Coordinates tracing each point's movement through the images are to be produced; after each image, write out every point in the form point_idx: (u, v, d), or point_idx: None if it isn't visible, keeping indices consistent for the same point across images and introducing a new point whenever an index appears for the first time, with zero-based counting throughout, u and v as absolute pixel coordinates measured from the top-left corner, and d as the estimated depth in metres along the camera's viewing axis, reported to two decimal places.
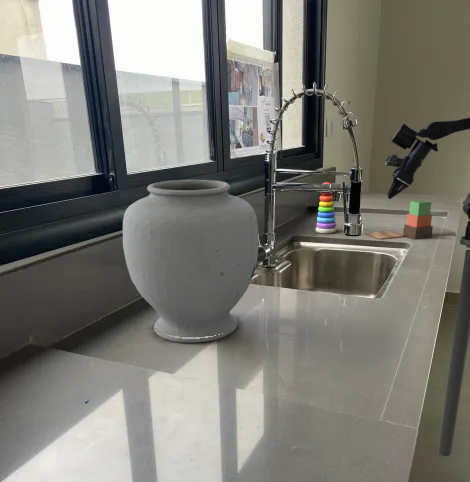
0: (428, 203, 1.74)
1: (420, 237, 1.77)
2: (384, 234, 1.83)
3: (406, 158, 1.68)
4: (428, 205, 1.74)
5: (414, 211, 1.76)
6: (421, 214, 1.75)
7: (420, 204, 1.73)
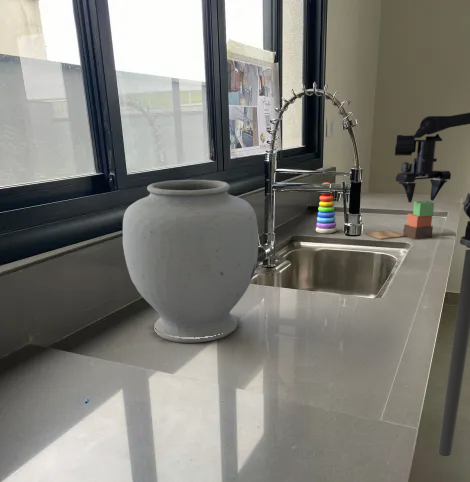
0: (431, 204, 1.73)
1: (420, 237, 1.77)
2: (384, 234, 1.83)
3: (414, 161, 1.73)
4: (431, 206, 1.73)
5: (416, 211, 1.76)
6: (423, 214, 1.74)
7: (421, 204, 1.73)
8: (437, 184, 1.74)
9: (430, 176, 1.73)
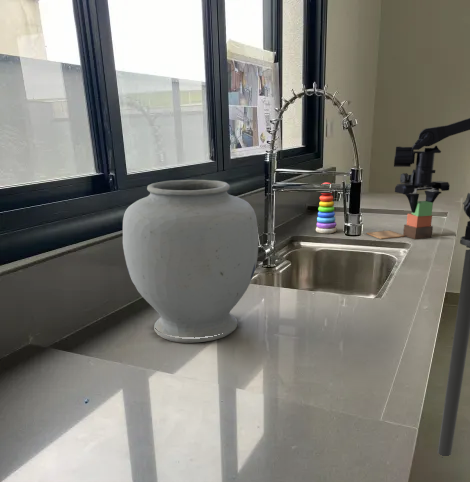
0: (429, 204, 1.73)
1: (420, 237, 1.77)
2: (384, 234, 1.83)
3: (413, 172, 1.74)
4: (429, 206, 1.73)
5: (415, 211, 1.75)
6: (422, 215, 1.74)
7: (420, 204, 1.72)
8: (431, 195, 1.75)
9: None
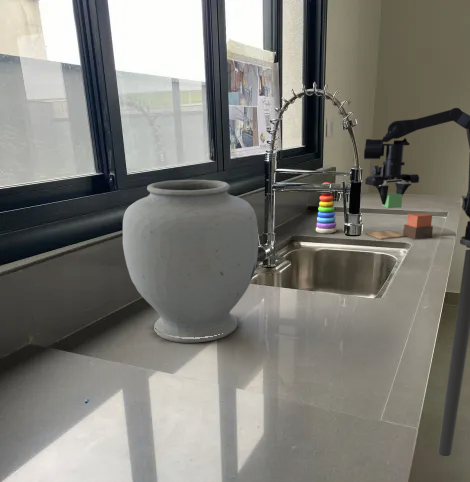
0: (399, 196, 1.75)
1: (420, 237, 1.77)
2: (384, 234, 1.83)
3: (383, 164, 1.76)
4: (399, 198, 1.75)
5: (385, 203, 1.77)
6: (391, 206, 1.76)
7: (390, 196, 1.75)
8: (401, 187, 1.77)
9: (394, 180, 1.76)
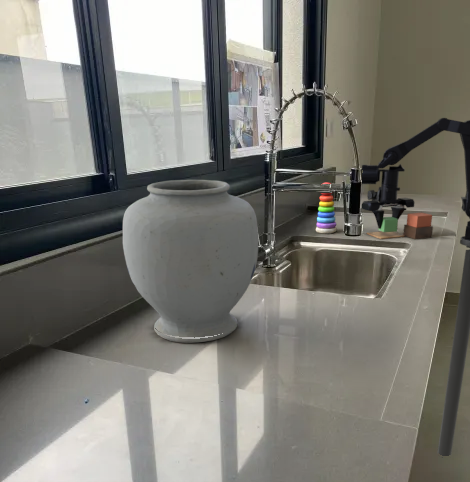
0: (394, 220, 1.78)
1: (420, 237, 1.77)
2: (384, 234, 1.83)
3: (379, 189, 1.80)
4: (395, 222, 1.79)
5: (381, 227, 1.81)
6: (387, 230, 1.79)
7: (385, 221, 1.78)
8: (397, 212, 1.80)
9: None
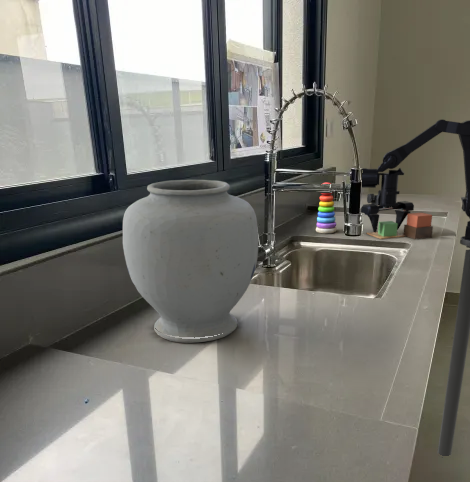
0: (394, 224, 1.79)
1: (420, 237, 1.77)
2: None
3: (379, 192, 1.80)
4: (394, 226, 1.79)
5: (381, 231, 1.81)
6: (387, 235, 1.80)
7: (385, 225, 1.78)
8: (401, 215, 1.81)
9: (394, 207, 1.80)
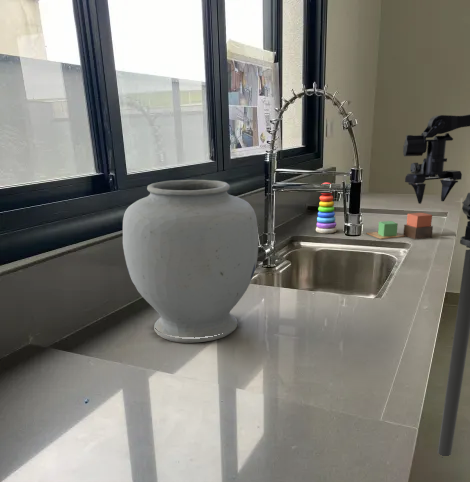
0: (394, 224, 1.79)
1: (420, 237, 1.77)
2: None
3: (424, 161, 1.69)
4: (394, 226, 1.79)
5: (381, 231, 1.81)
6: (387, 235, 1.80)
7: (385, 225, 1.78)
8: (448, 184, 1.70)
9: (440, 176, 1.69)
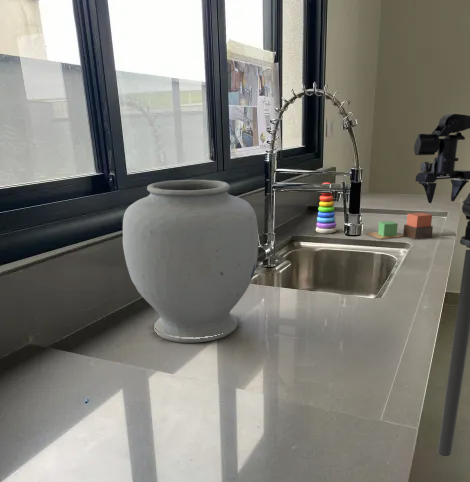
0: (394, 224, 1.79)
1: (420, 237, 1.77)
2: None
3: (435, 160, 1.67)
4: (394, 226, 1.79)
5: (381, 231, 1.81)
6: (387, 235, 1.80)
7: (385, 225, 1.78)
8: (458, 184, 1.68)
9: (451, 176, 1.67)
